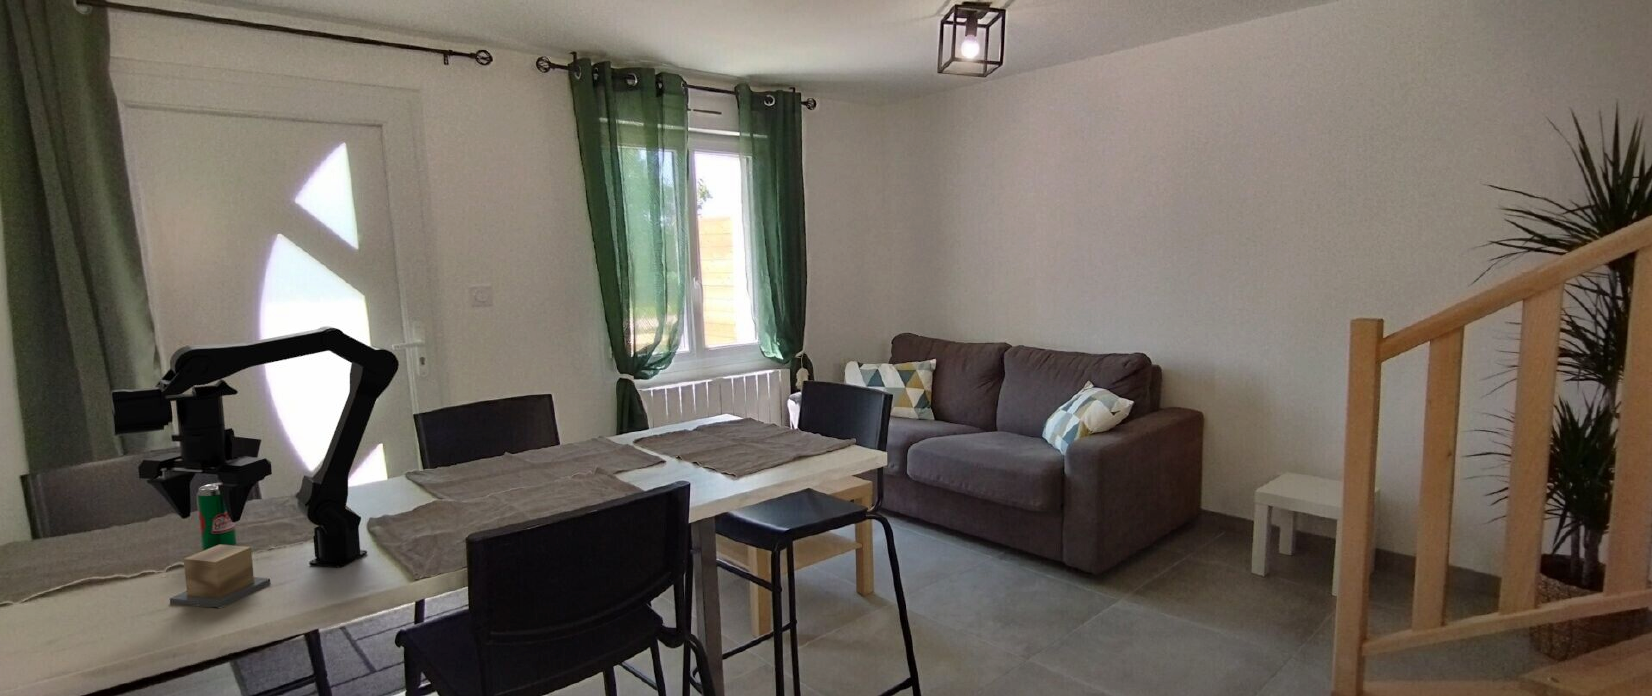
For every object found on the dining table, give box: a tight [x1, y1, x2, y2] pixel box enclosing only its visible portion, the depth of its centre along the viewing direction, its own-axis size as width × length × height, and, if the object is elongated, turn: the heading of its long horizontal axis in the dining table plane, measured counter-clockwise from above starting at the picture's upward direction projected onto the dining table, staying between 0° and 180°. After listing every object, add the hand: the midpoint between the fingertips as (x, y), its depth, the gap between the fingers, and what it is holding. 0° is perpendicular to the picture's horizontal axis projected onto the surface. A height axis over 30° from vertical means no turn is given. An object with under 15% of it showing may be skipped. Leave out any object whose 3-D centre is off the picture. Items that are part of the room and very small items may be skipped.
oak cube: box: [183, 544, 255, 598], centre depth 122 cm, size 6×6×6 cm
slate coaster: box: [169, 576, 271, 609], centre depth 122 cm, size 9×9×1 cm
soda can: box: [196, 482, 238, 551], centre depth 139 cm, size 5×5×12 cm
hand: (210, 519), depth 121 cm, fingers open, 9 cm apart
